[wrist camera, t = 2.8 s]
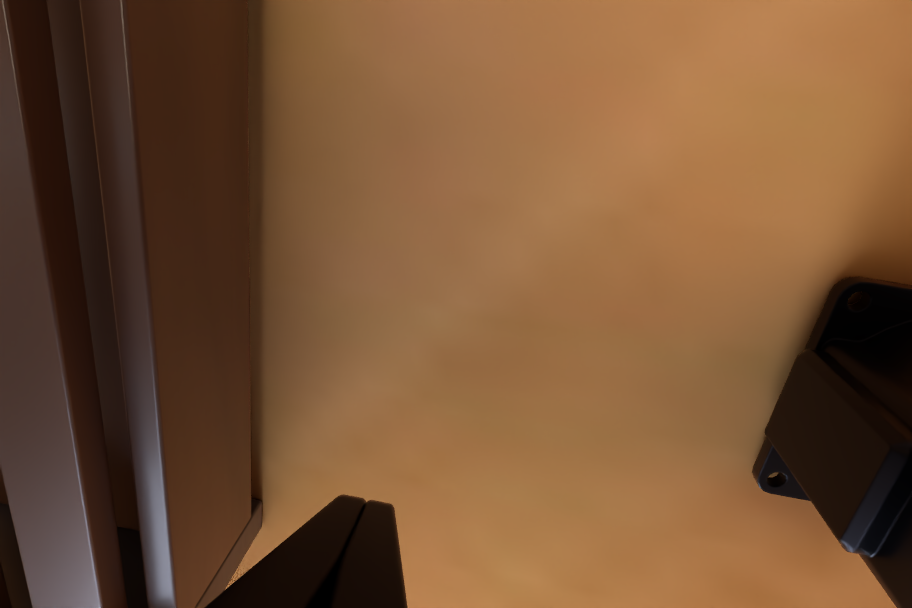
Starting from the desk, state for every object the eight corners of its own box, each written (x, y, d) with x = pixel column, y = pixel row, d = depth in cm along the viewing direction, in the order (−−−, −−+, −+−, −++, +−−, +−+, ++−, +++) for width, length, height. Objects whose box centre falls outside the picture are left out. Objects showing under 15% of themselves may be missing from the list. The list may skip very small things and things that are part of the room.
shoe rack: (264, -82, 12) (52, -216, 7) (262, 526, 19) (157, 705, 14) (-151, -141, 13) (-666, -309, 7) (-6, 472, 20) (-211, 625, 14)
